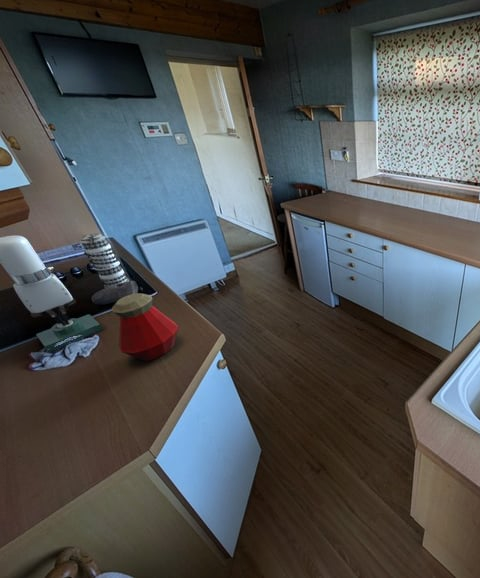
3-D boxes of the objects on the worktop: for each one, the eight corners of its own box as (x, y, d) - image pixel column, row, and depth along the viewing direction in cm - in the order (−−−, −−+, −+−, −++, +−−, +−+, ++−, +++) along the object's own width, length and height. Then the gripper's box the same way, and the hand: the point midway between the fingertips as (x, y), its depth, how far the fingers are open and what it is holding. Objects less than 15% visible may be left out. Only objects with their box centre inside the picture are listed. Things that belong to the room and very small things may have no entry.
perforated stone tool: (95, 309, 115) (86, 294, 111) (96, 304, 118) (87, 289, 115) (141, 297, 123) (134, 282, 119) (141, 292, 126) (134, 278, 123)
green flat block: (49, 352, 94) (40, 341, 92) (40, 339, 99) (32, 329, 97) (103, 329, 104) (96, 319, 102) (92, 319, 109) (86, 309, 107)
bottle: (169, 330, 103) (145, 281, 93) (193, 341, 98) (171, 290, 88) (118, 359, 91) (84, 306, 81) (143, 373, 86) (110, 318, 76)
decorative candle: (117, 296, 123) (86, 240, 111) (101, 293, 126) (69, 238, 113) (138, 286, 131) (111, 232, 118) (123, 283, 133) (95, 230, 120)
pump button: (62, 333, 98) (58, 328, 97) (58, 329, 100) (55, 324, 99) (77, 327, 101) (74, 322, 100) (73, 323, 103) (70, 318, 102)
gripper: (60, 264, 97) (89, 309, 106) (-7, 282, 86) (31, 331, 96) (67, 269, 93) (97, 316, 103) (-3, 289, 83) (37, 339, 92)
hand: (65, 323), depth 99 cm, fingers closed
